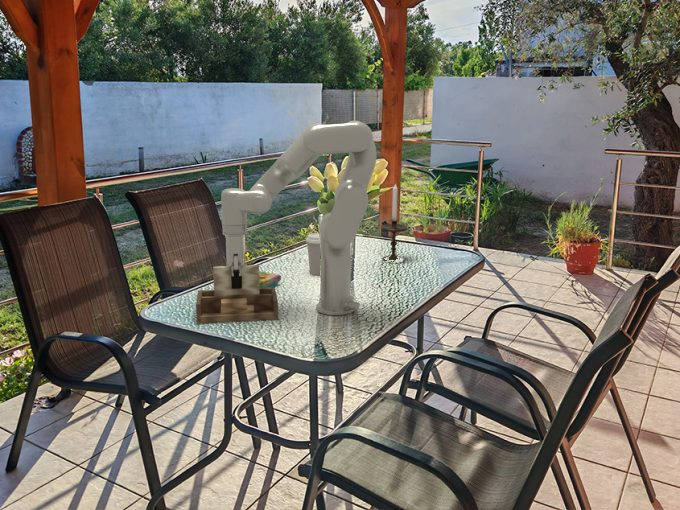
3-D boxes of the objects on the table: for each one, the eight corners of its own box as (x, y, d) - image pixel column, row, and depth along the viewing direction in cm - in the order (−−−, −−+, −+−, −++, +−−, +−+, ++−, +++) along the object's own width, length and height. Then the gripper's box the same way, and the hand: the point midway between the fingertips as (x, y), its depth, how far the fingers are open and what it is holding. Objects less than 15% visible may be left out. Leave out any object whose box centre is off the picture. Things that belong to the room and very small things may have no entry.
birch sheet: (259, 307, 208) (258, 265, 204) (259, 308, 206) (258, 266, 203) (215, 309, 205) (213, 266, 202) (214, 310, 204) (213, 267, 200)
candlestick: (407, 264, 264) (410, 178, 255) (380, 264, 264) (382, 178, 255) (405, 257, 275) (407, 174, 266) (379, 257, 275) (381, 174, 266)
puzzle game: (280, 273, 234) (243, 286, 218) (281, 285, 235) (244, 299, 219) (256, 268, 240) (218, 280, 224) (256, 280, 241) (218, 293, 225)
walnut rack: (275, 307, 210) (274, 287, 209) (278, 322, 197) (277, 300, 195) (199, 311, 206) (198, 290, 205) (197, 326, 193) (196, 304, 191)
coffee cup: (328, 277, 244) (328, 238, 241) (303, 276, 246) (303, 237, 242) (332, 270, 254) (333, 233, 250) (308, 269, 255) (308, 232, 251)
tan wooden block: (253, 312, 203) (253, 297, 202) (254, 317, 198) (254, 302, 197) (221, 314, 201) (220, 298, 200) (221, 319, 197) (220, 303, 195)
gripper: (222, 223, 207) (224, 278, 211) (222, 235, 191) (224, 294, 195) (246, 223, 208) (248, 277, 213) (247, 234, 192) (249, 293, 196)
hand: (236, 284), depth 204 cm, fingers open, 5 cm apart
